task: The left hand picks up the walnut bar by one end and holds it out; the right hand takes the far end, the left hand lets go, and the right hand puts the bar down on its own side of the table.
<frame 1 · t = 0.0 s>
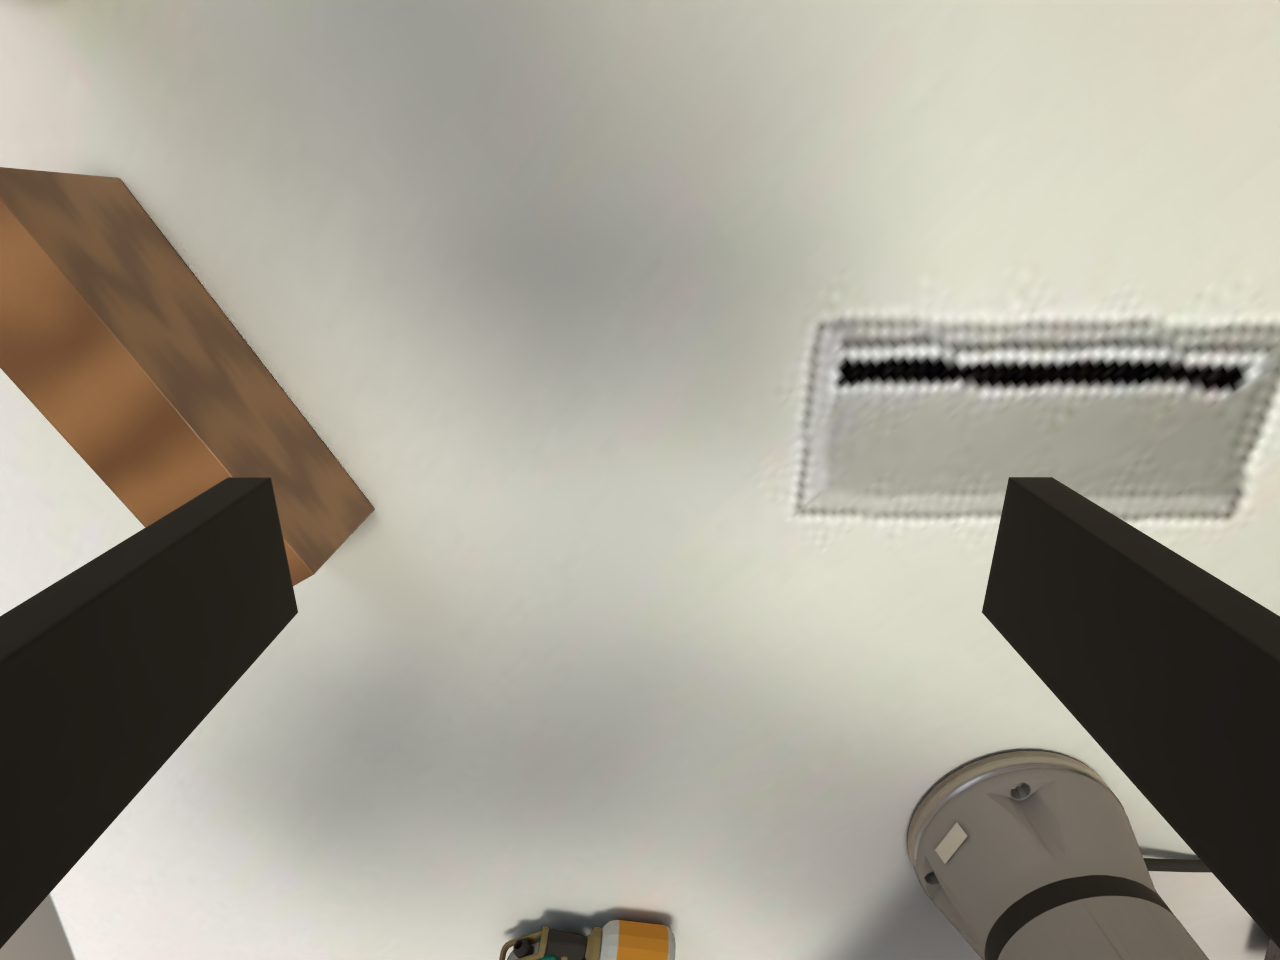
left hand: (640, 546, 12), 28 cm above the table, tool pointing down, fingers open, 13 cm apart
bar: (221, 381, 40), on the table
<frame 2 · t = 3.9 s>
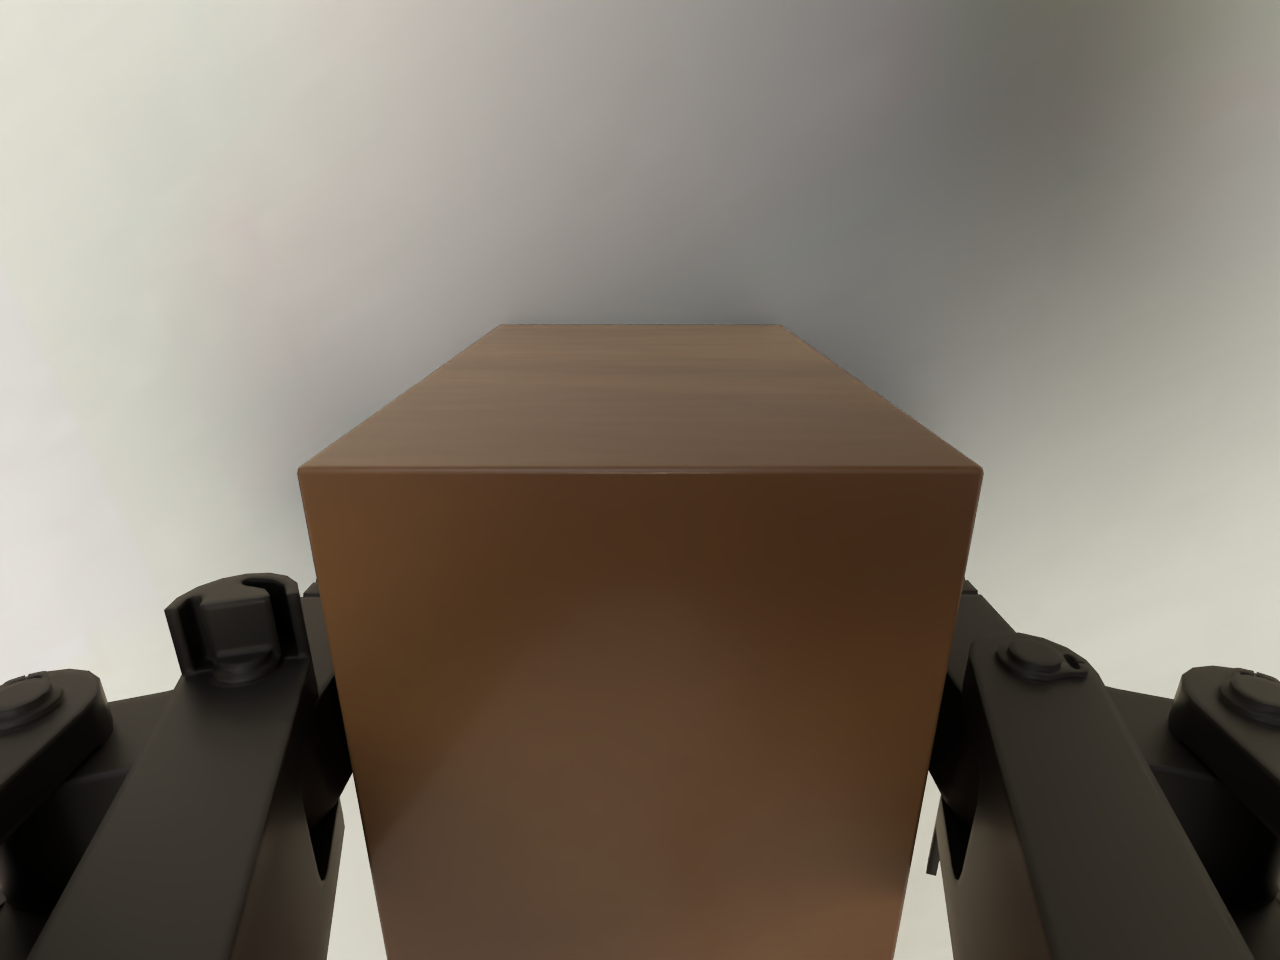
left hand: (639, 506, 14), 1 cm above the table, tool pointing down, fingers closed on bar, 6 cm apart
bar: (640, 764, 17), on the table, touching left hand
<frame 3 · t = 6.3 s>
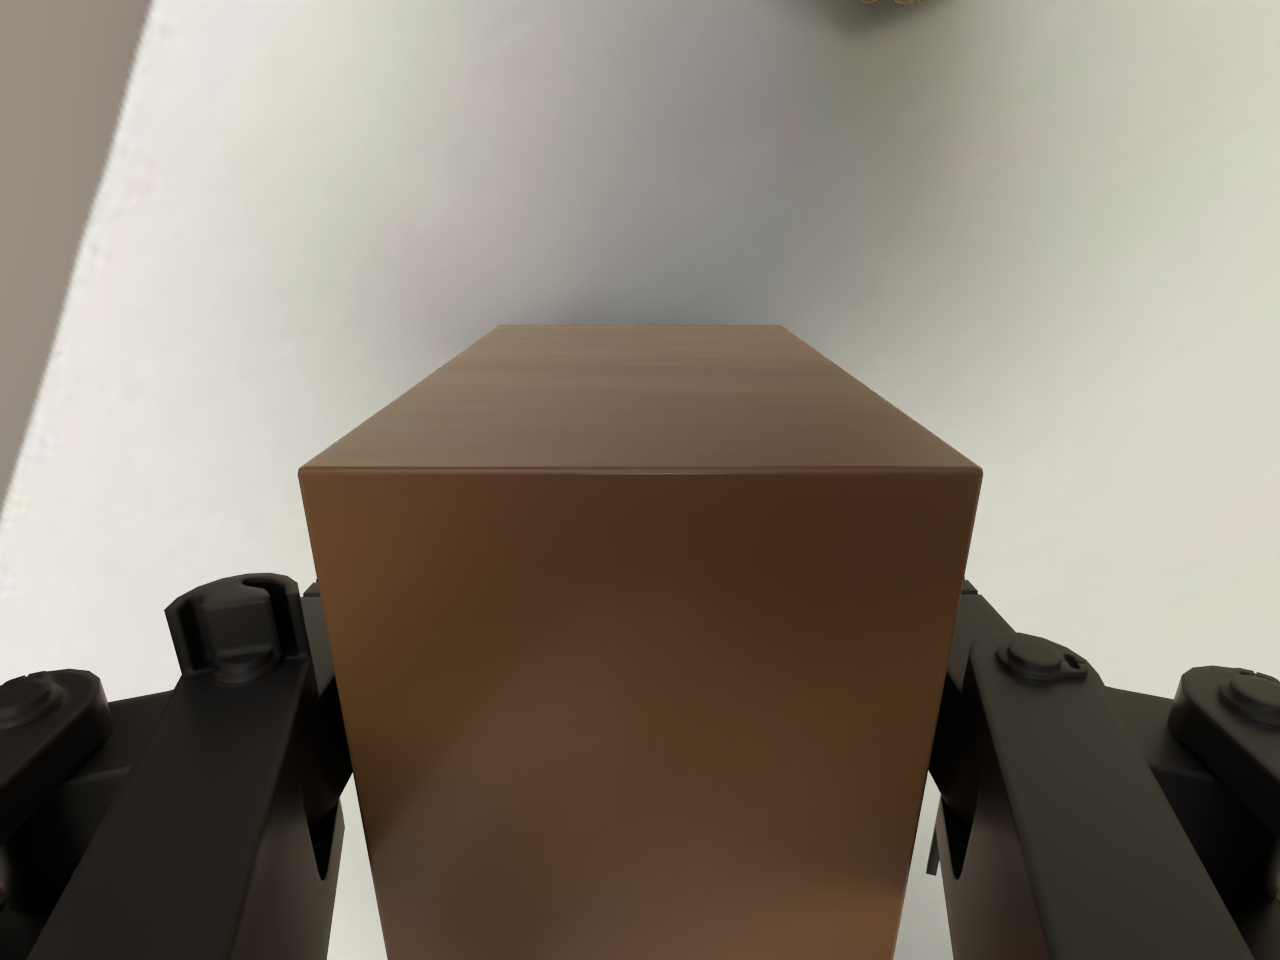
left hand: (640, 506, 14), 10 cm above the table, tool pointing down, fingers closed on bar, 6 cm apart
bar: (640, 764, 17), point 10 cm above the table, touching left hand
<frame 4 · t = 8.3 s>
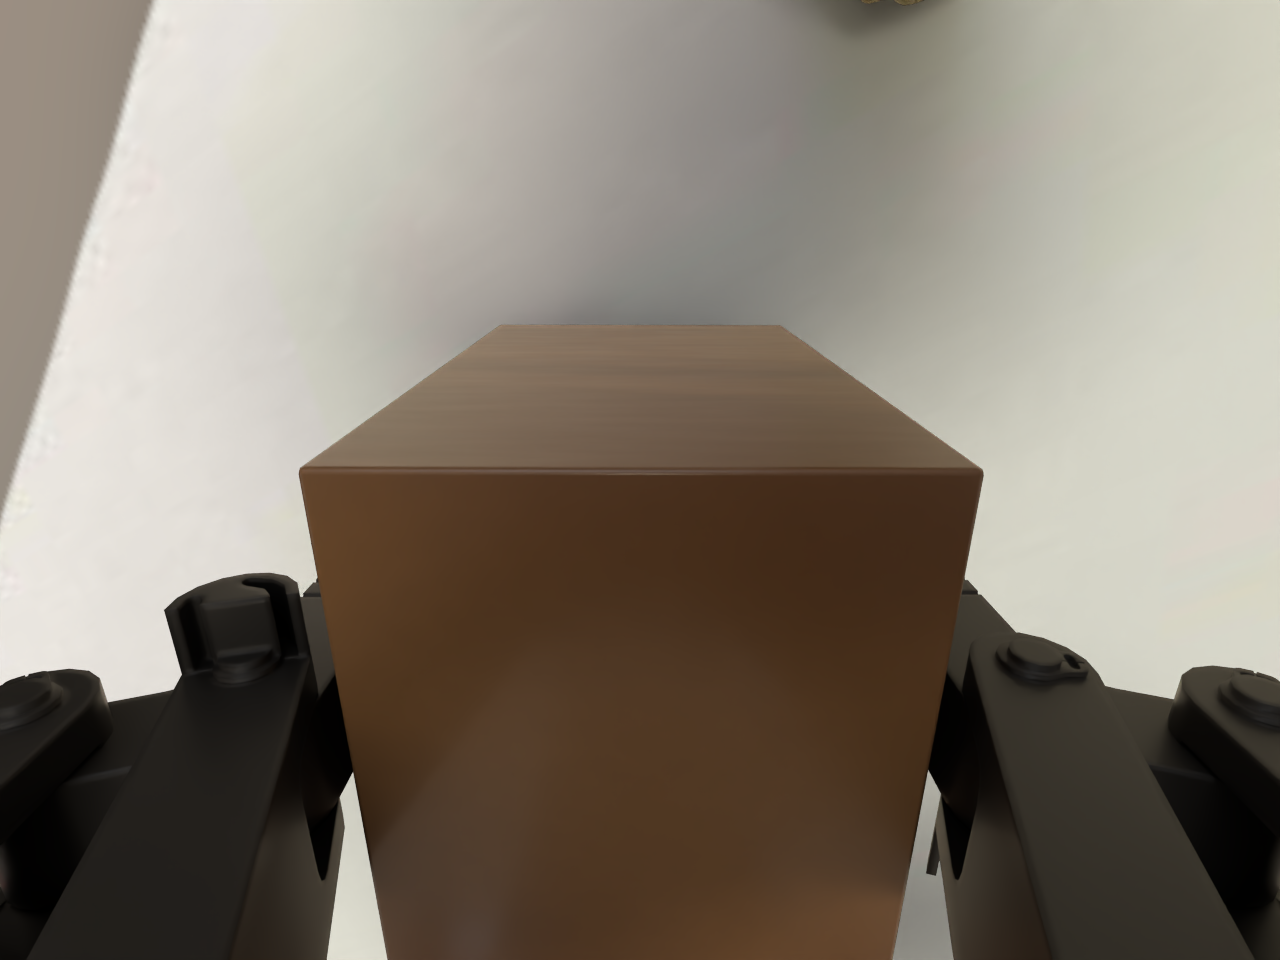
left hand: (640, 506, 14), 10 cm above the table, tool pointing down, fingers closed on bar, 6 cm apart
bar: (639, 764, 17), point 10 cm above the table, touching left hand, right hand
when the left hand's fingers open (10 cm above the table, at t = 9.1 s): bar stays where it is, held by the right hand.
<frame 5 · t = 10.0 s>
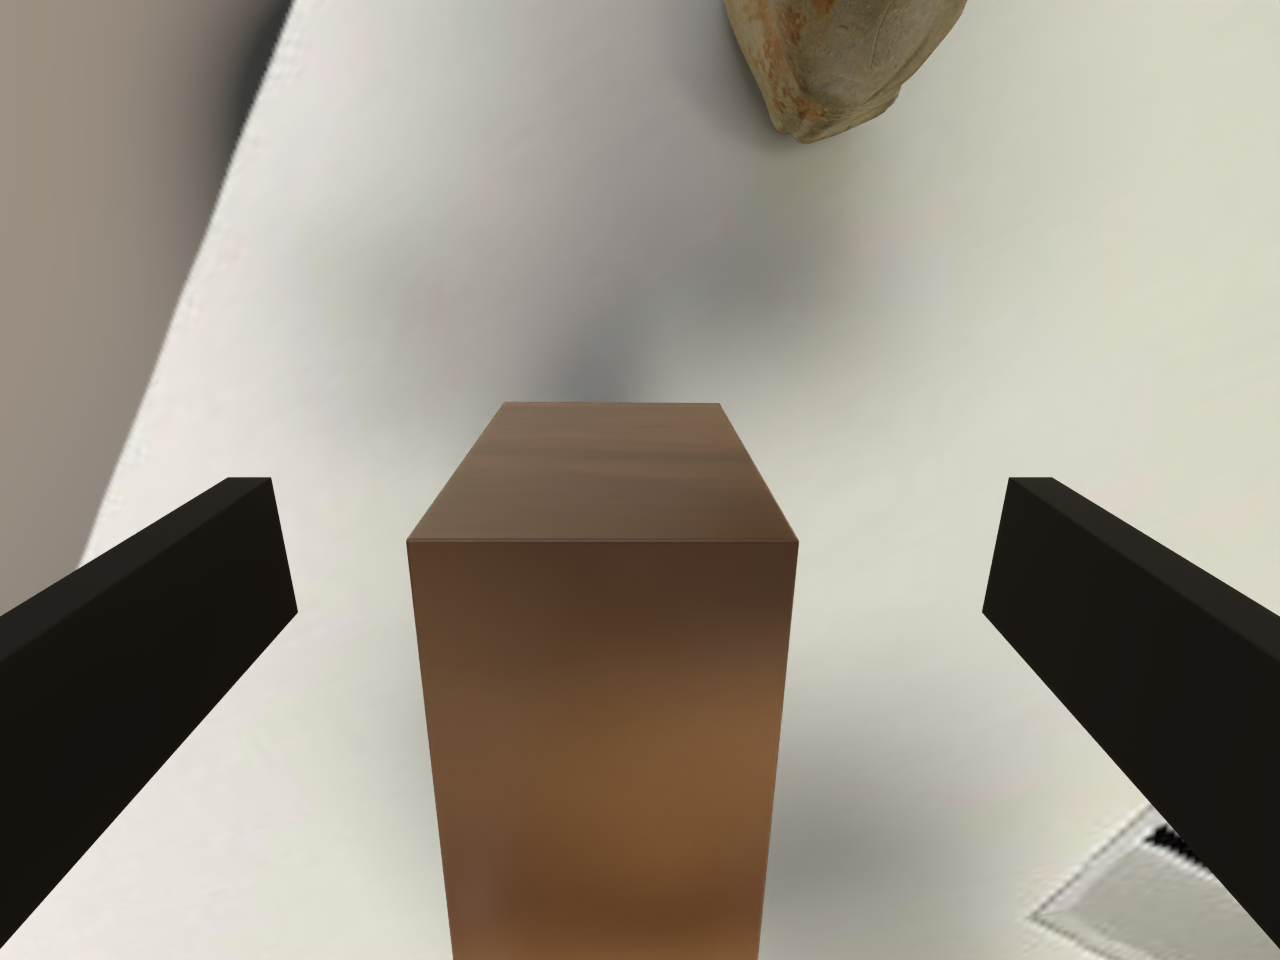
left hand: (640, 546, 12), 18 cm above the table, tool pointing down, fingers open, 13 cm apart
bar: (612, 745, 21), point 12 cm above the table, touching right hand
sculpture: (792, 44, 26), on the table
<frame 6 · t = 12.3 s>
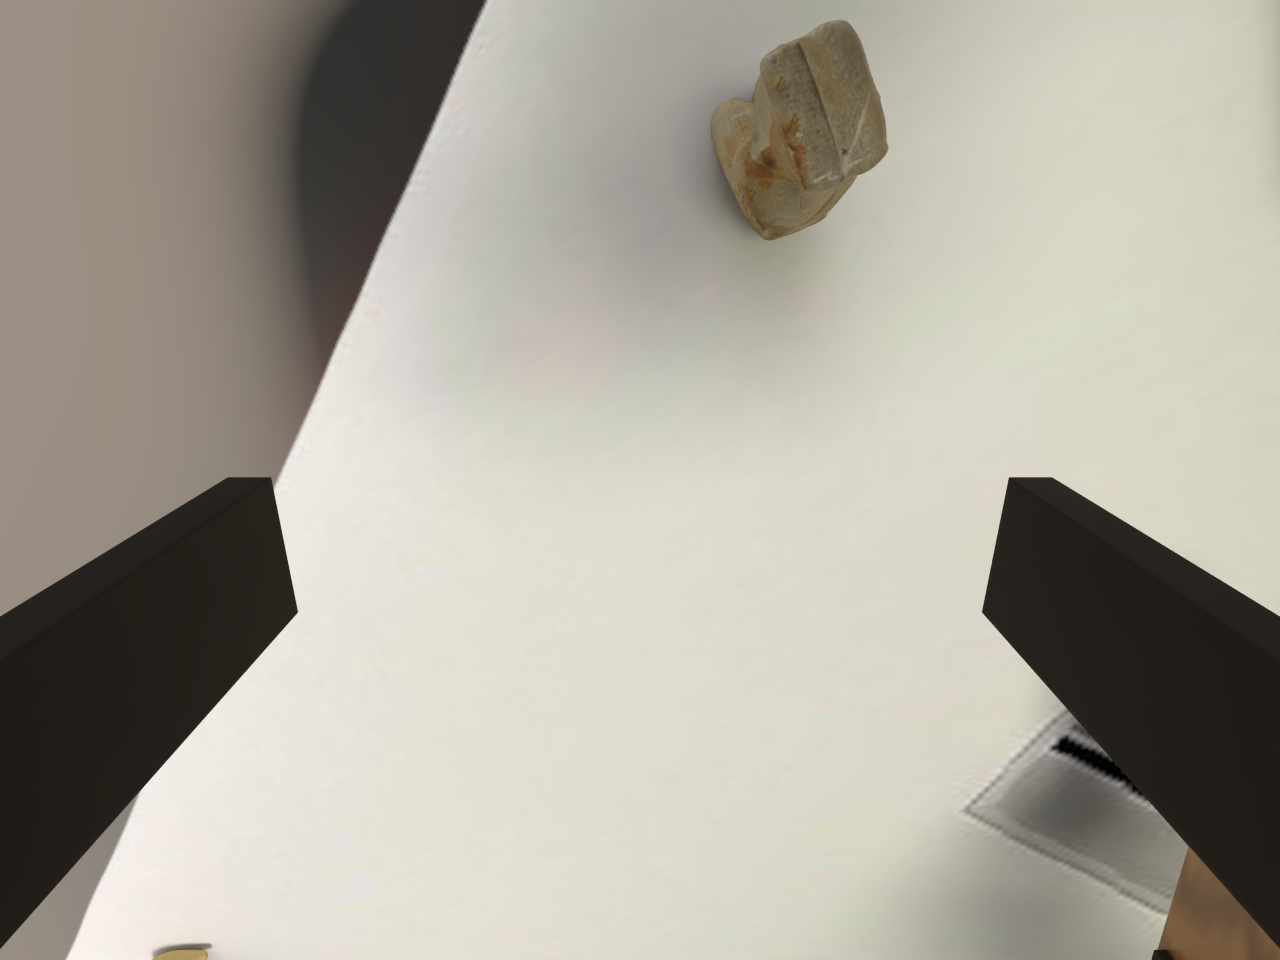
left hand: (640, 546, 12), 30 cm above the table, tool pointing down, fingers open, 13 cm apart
bar: (1231, 864, 39), point 12 cm above the table, touching right hand
sculpture: (762, 167, 38), on the table
when the right hand's fingers open (2 cm above the table, at t = 16.4 s): bar drops 1 cm, on the table.
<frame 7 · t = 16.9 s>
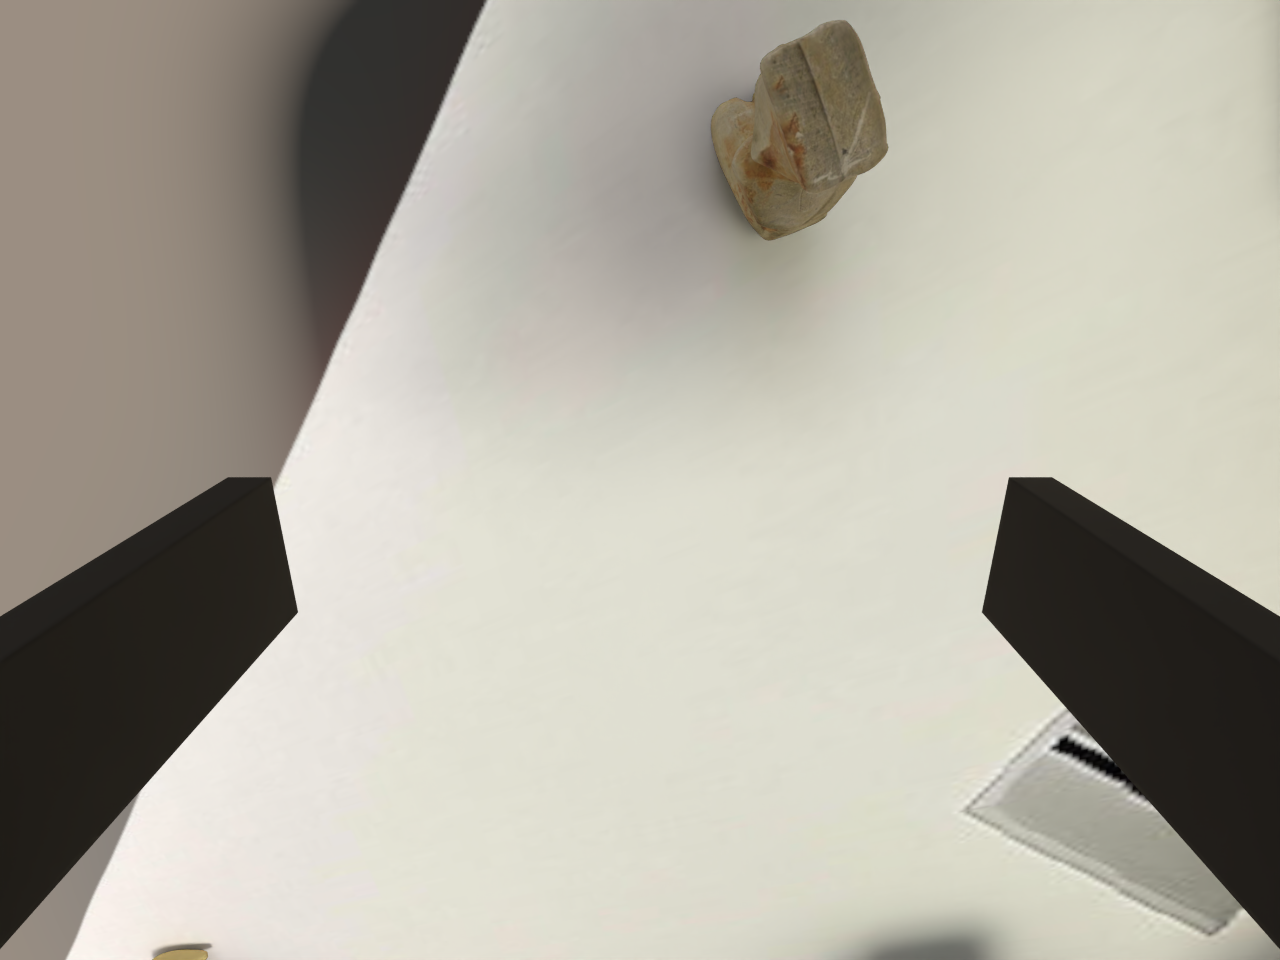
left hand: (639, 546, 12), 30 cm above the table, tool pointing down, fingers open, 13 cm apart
sculpture: (762, 167, 38), on the table
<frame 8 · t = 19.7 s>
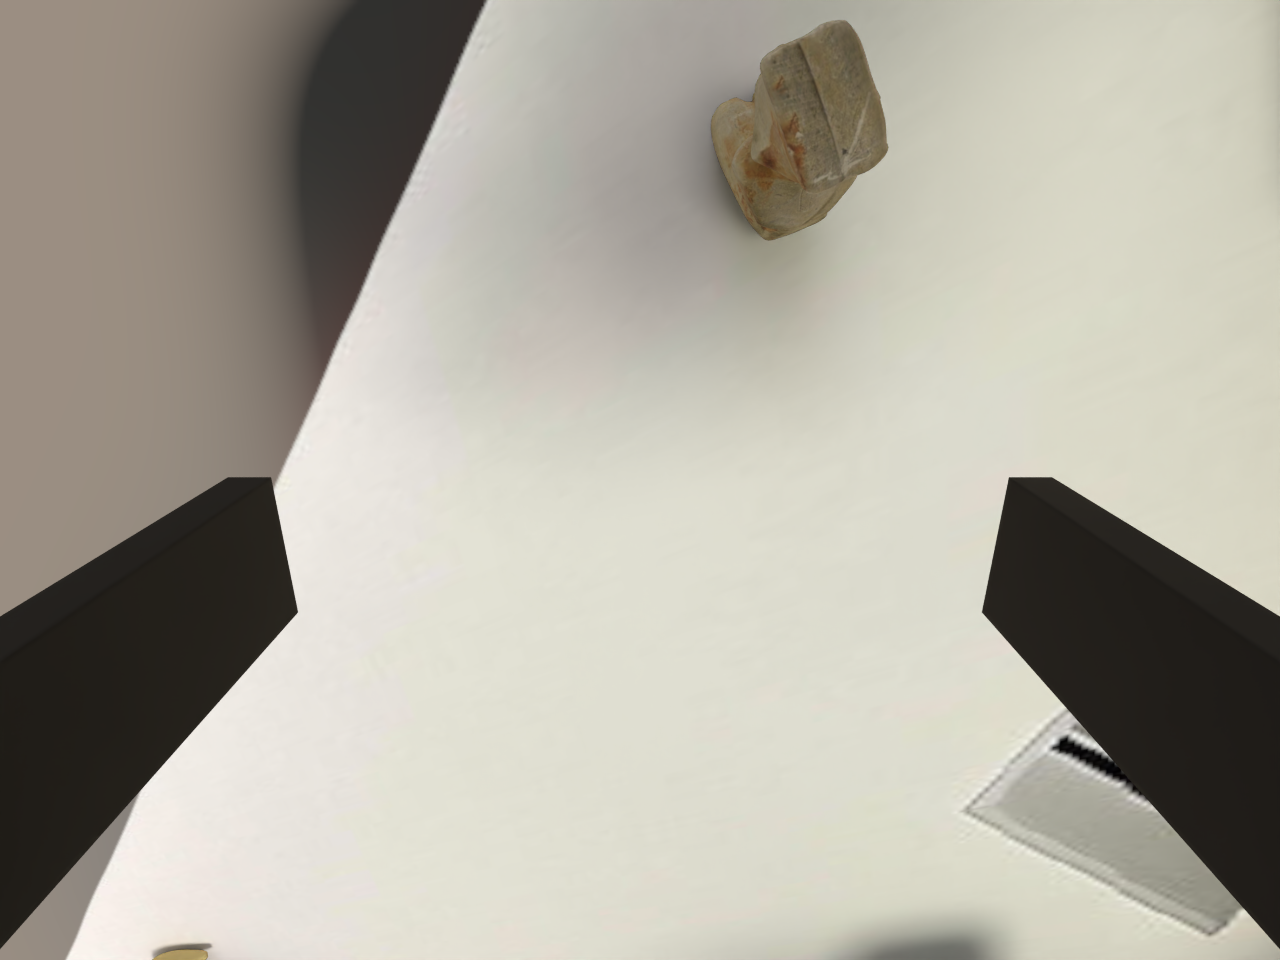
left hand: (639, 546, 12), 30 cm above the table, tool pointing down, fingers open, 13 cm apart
sculpture: (762, 167, 38), on the table
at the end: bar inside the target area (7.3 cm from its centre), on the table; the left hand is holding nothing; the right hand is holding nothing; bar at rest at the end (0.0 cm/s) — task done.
